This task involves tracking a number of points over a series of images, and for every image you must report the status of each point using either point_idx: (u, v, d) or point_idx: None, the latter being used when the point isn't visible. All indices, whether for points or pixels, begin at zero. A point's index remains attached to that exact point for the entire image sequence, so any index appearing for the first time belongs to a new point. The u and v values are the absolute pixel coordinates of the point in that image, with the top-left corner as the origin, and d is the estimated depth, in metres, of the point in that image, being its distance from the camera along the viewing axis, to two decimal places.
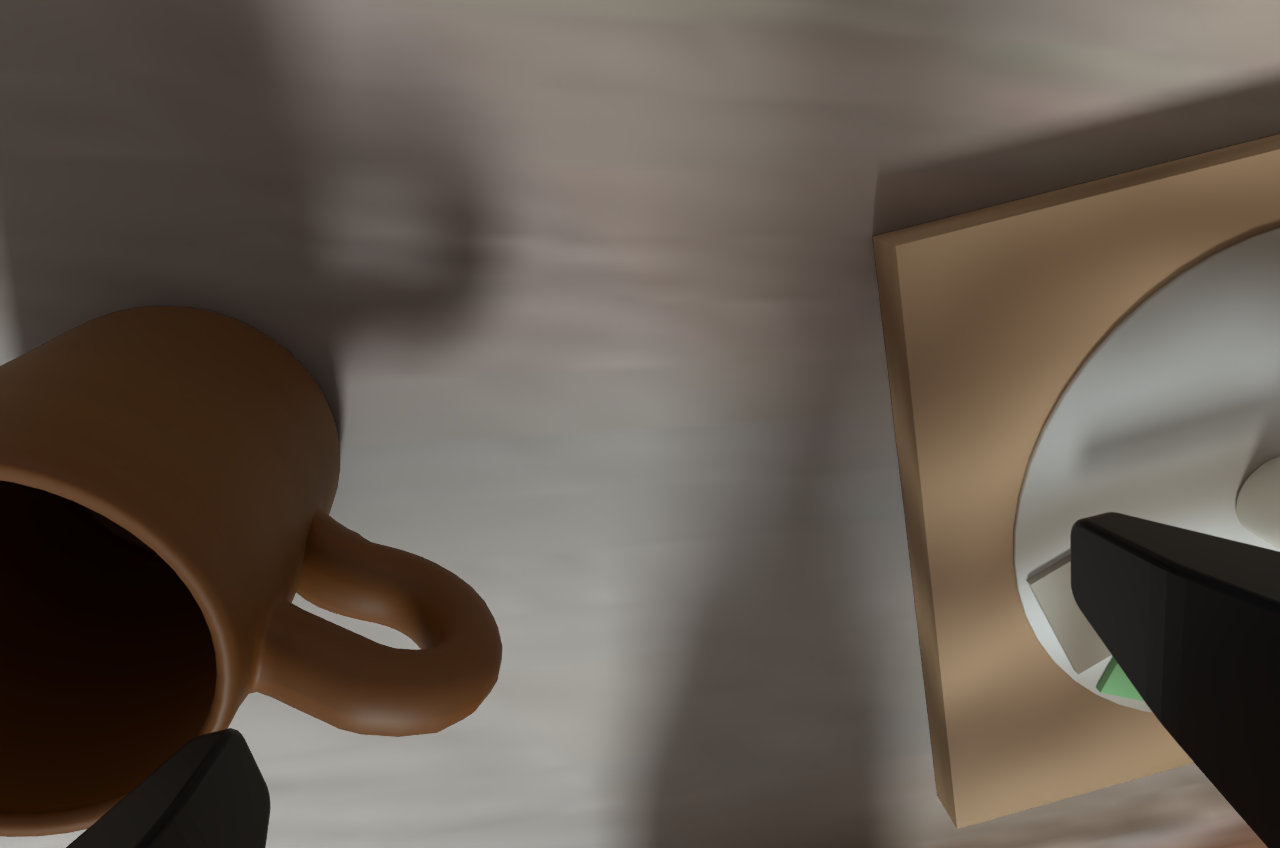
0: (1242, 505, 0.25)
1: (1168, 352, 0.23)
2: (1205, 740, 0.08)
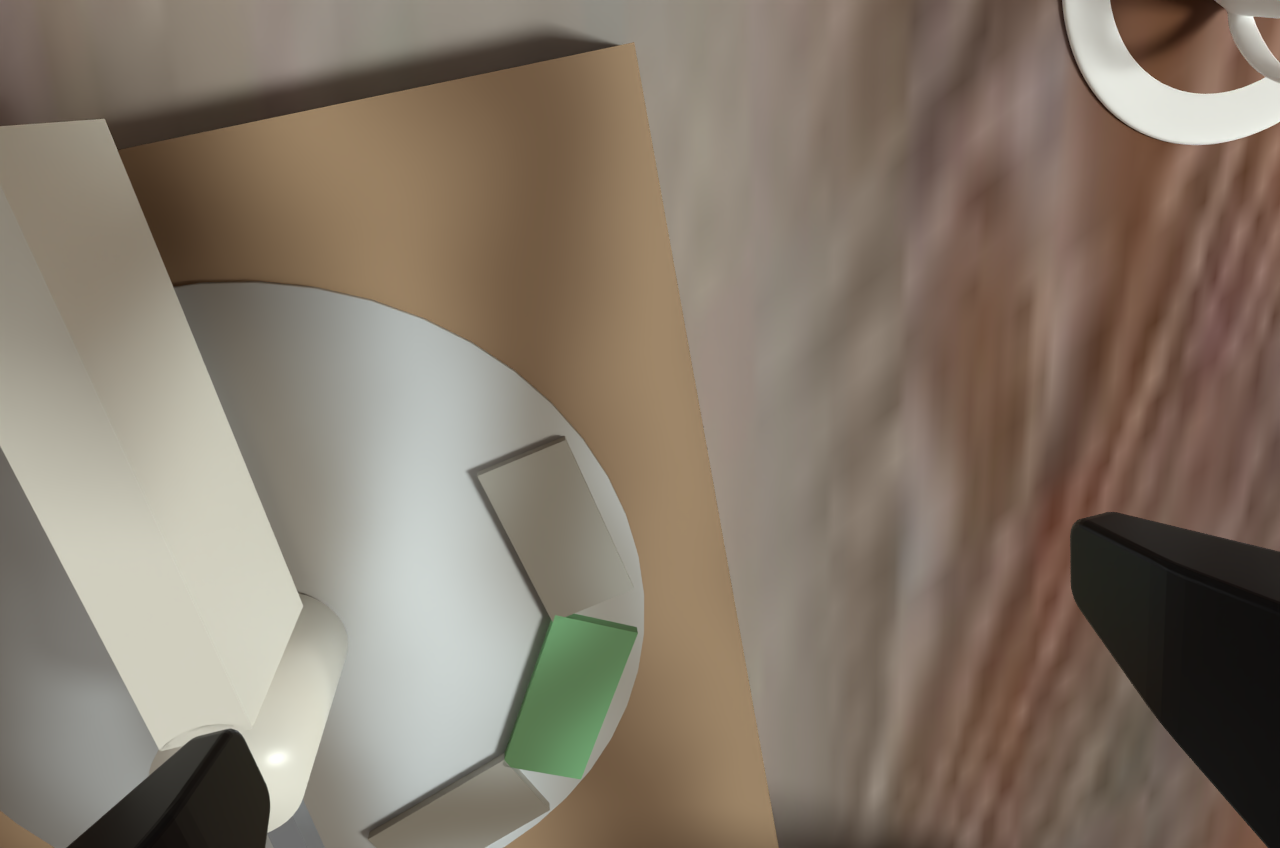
0: None
1: None
2: (1205, 740, 0.08)
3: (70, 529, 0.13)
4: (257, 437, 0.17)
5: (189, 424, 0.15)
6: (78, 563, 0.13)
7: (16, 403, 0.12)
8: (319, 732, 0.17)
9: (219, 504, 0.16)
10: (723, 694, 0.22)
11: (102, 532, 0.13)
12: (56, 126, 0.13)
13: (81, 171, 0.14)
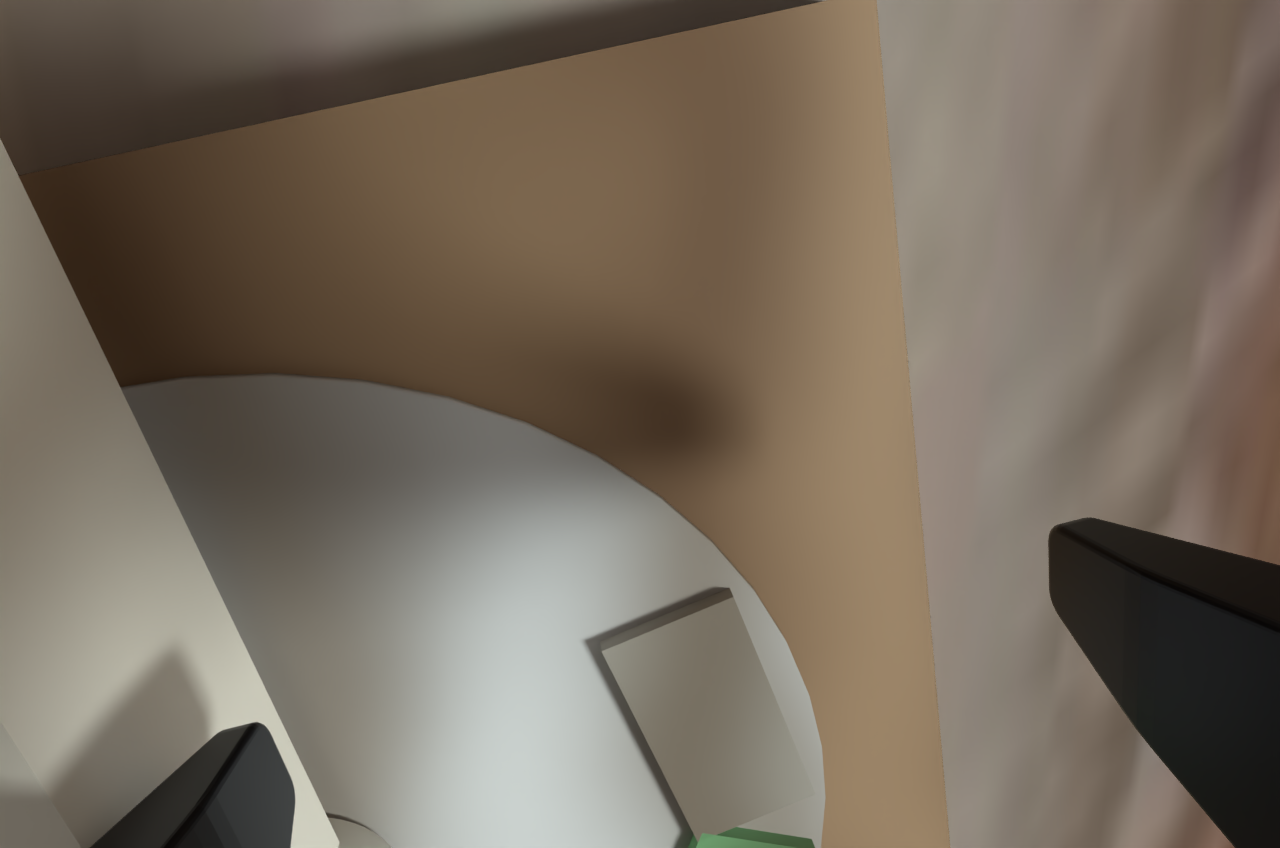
0: None
1: None
2: (1179, 747, 0.08)
3: None
4: (272, 604, 0.11)
5: (151, 626, 0.09)
6: None
7: None
8: None
9: None
10: None
11: None
12: None
13: None
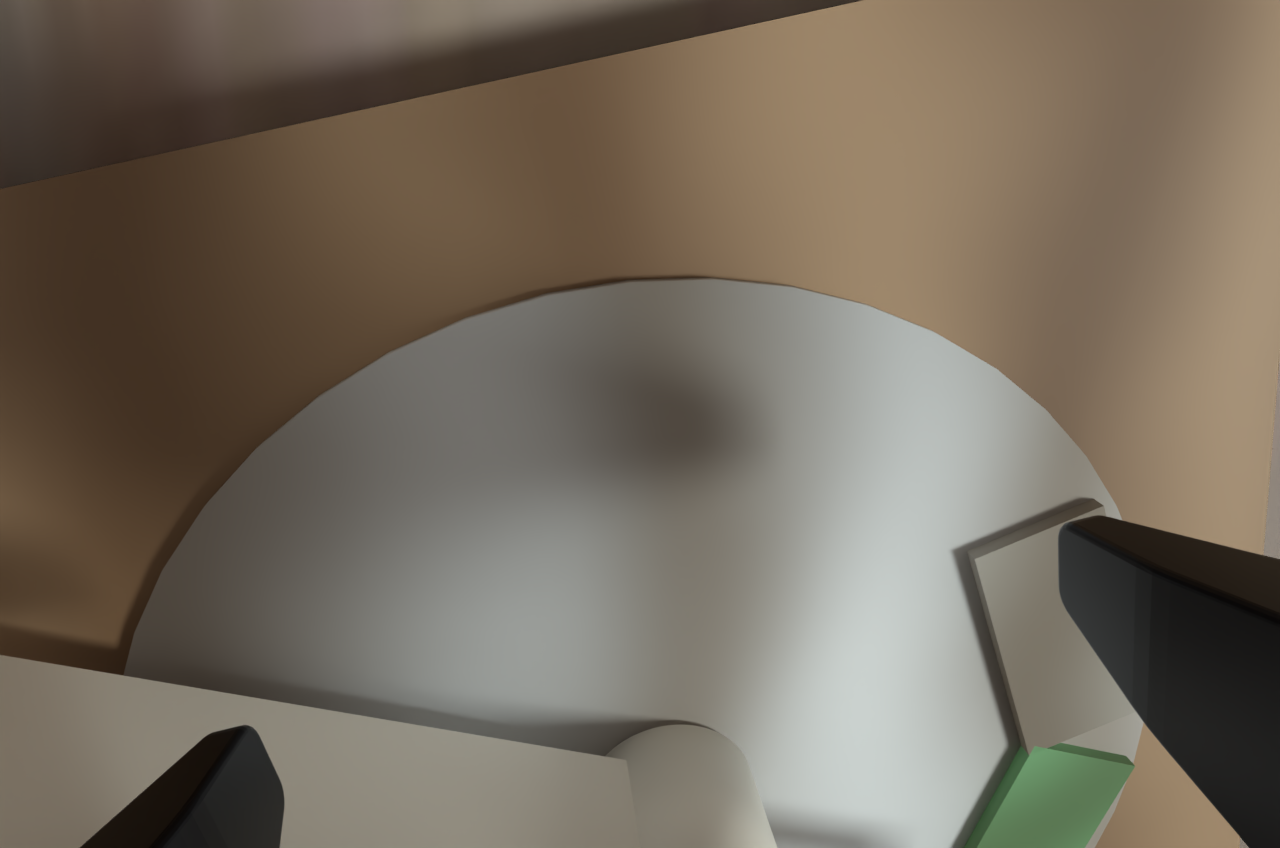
0: None
1: None
2: (1191, 744, 0.08)
3: None
4: (676, 508, 0.12)
5: None
6: None
7: None
8: None
9: (377, 816, 0.10)
10: (1206, 836, 0.16)
11: None
12: None
13: None
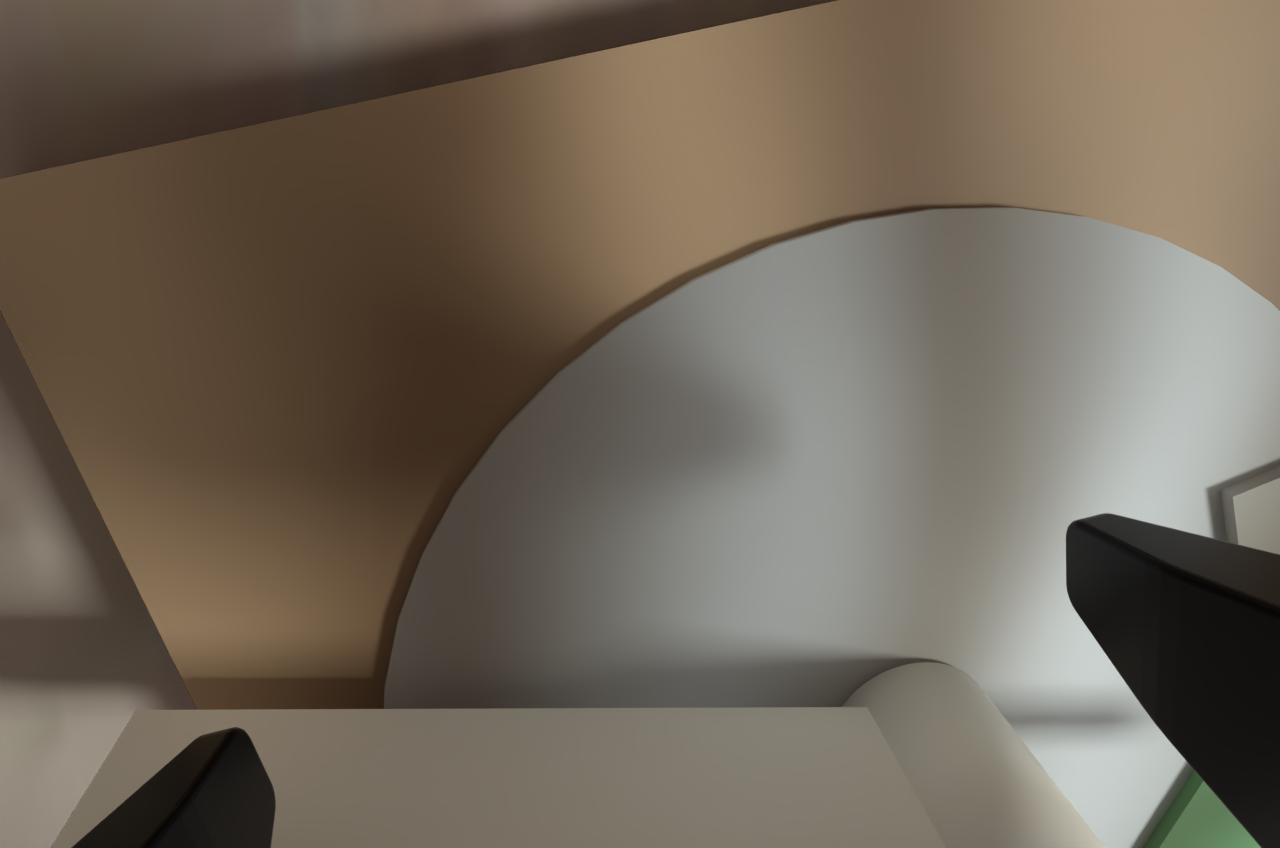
0: None
1: None
2: (1199, 741, 0.08)
3: None
4: (950, 441, 0.12)
5: (535, 791, 0.11)
6: None
7: None
8: (1059, 817, 0.10)
9: (661, 797, 0.11)
10: None
11: None
12: (79, 811, 0.10)
13: None
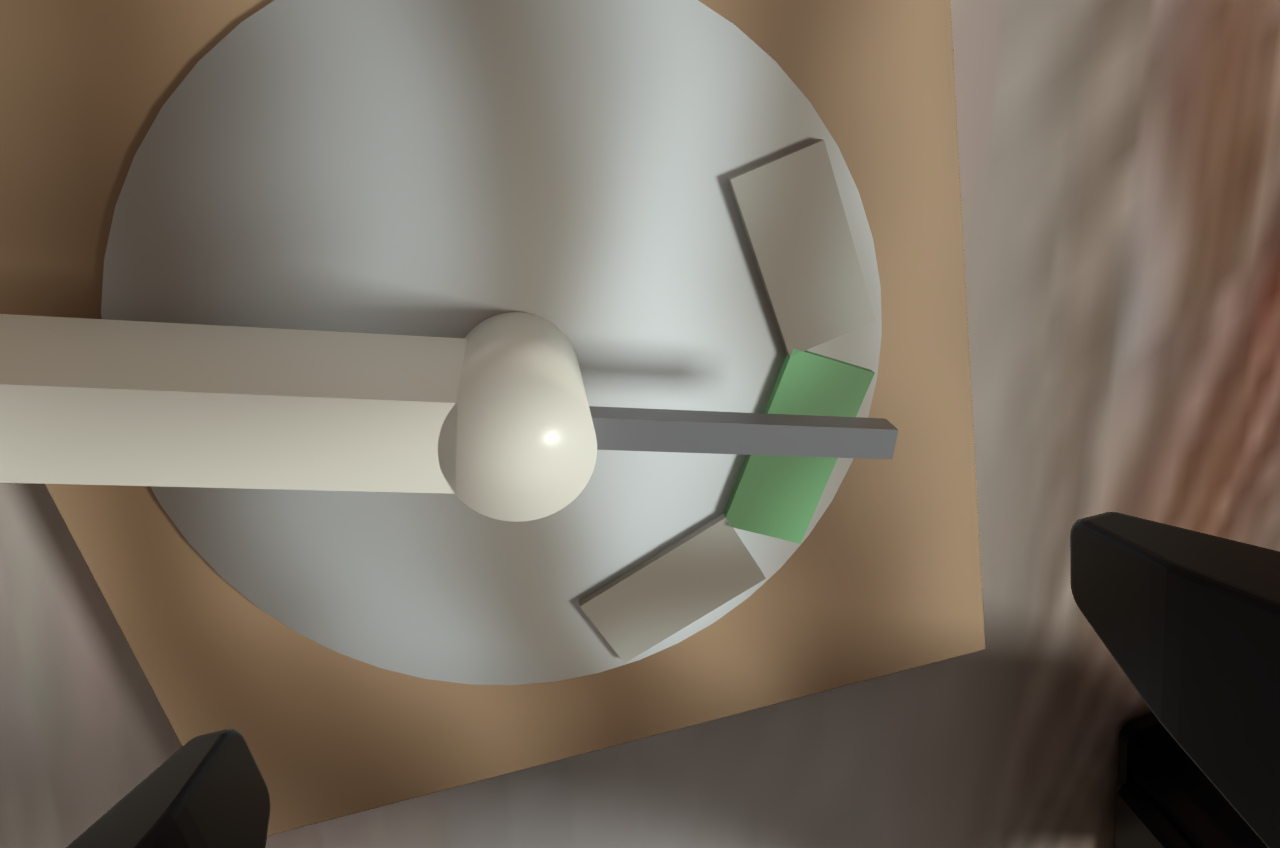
0: None
1: (319, 569, 0.19)
2: (1205, 740, 0.08)
3: (173, 466, 0.14)
4: (506, 127, 0.16)
5: (178, 347, 0.15)
6: (214, 474, 0.14)
7: (27, 454, 0.13)
8: (538, 357, 0.15)
9: (269, 354, 0.15)
10: (947, 455, 0.21)
11: (182, 442, 0.13)
12: None
13: None
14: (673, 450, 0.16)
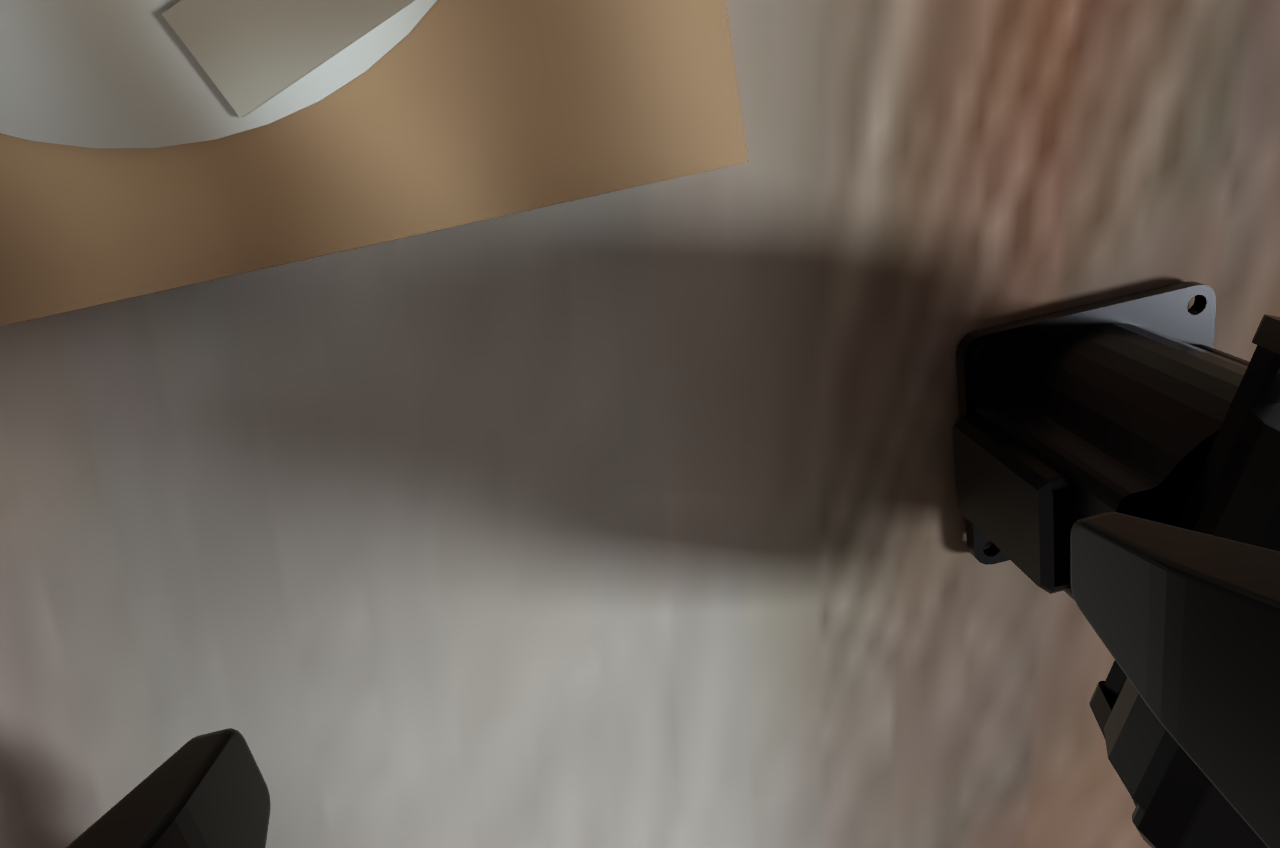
0: None
1: None
2: (1205, 740, 0.08)
3: None
4: None
5: None
6: None
7: None
8: None
9: None
10: None
11: None
12: None
13: None
14: None
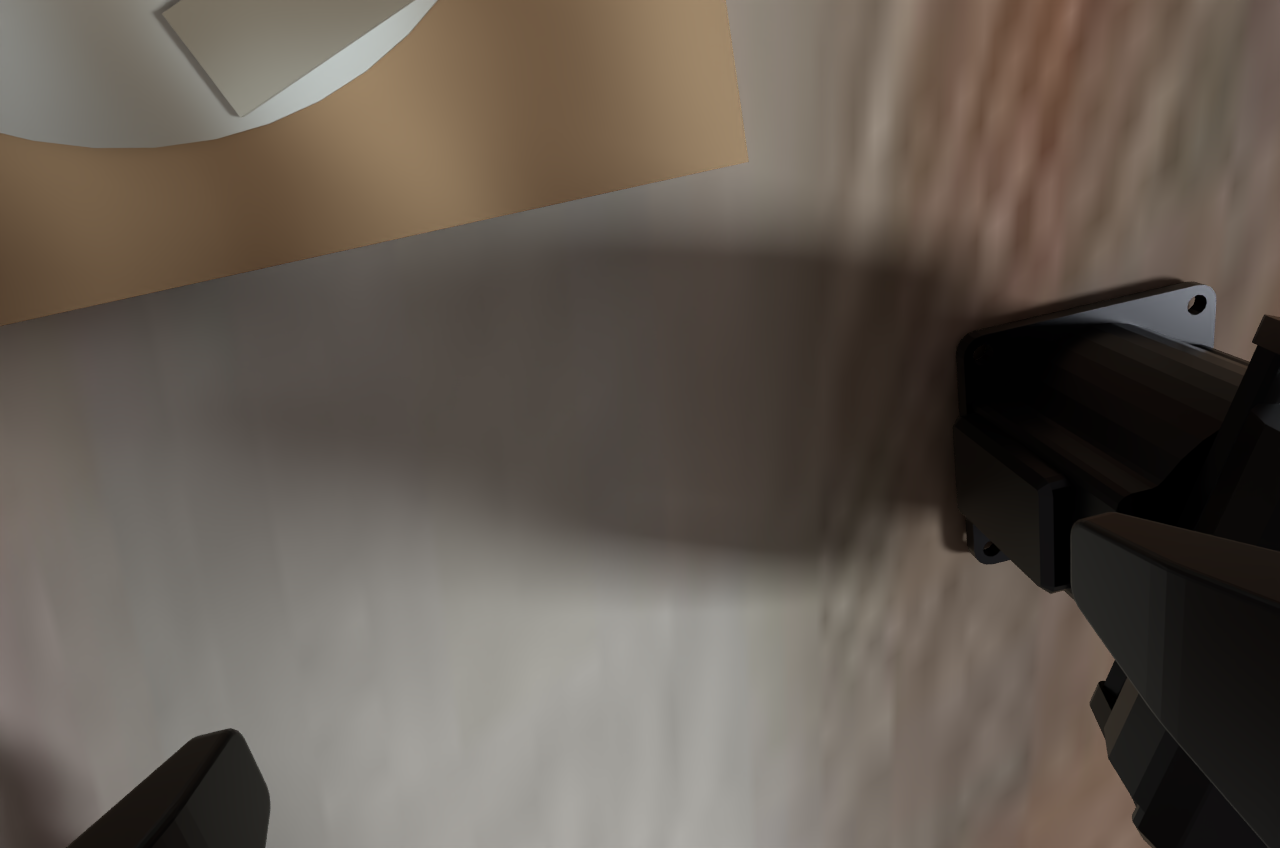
0: None
1: None
2: (1205, 740, 0.08)
3: None
4: None
5: None
6: None
7: None
8: None
9: None
10: None
11: None
12: None
13: None
14: None
